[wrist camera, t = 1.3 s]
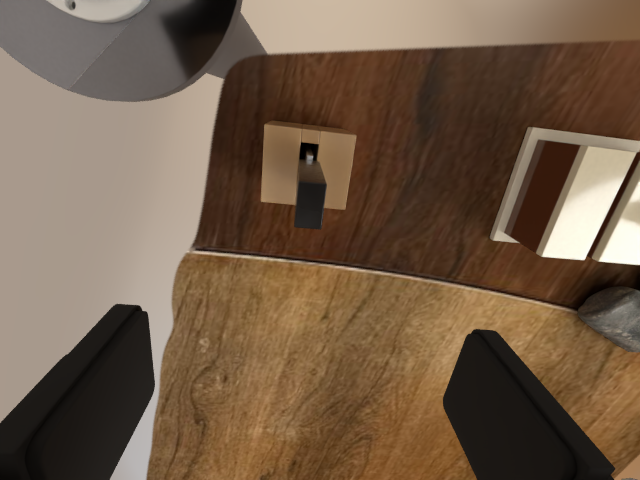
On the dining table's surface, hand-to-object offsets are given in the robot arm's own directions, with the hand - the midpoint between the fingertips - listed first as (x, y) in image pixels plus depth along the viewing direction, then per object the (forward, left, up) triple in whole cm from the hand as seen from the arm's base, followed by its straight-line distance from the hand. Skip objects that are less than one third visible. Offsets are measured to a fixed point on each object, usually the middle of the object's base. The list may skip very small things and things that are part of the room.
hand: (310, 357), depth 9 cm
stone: (+35, +24, -22) cm, 48 cm away
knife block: (-2, +2, -25) cm, 25 cm away
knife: (-2, +2, -25) cm, 25 cm away
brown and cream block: (+18, +21, -25) cm, 37 cm away
